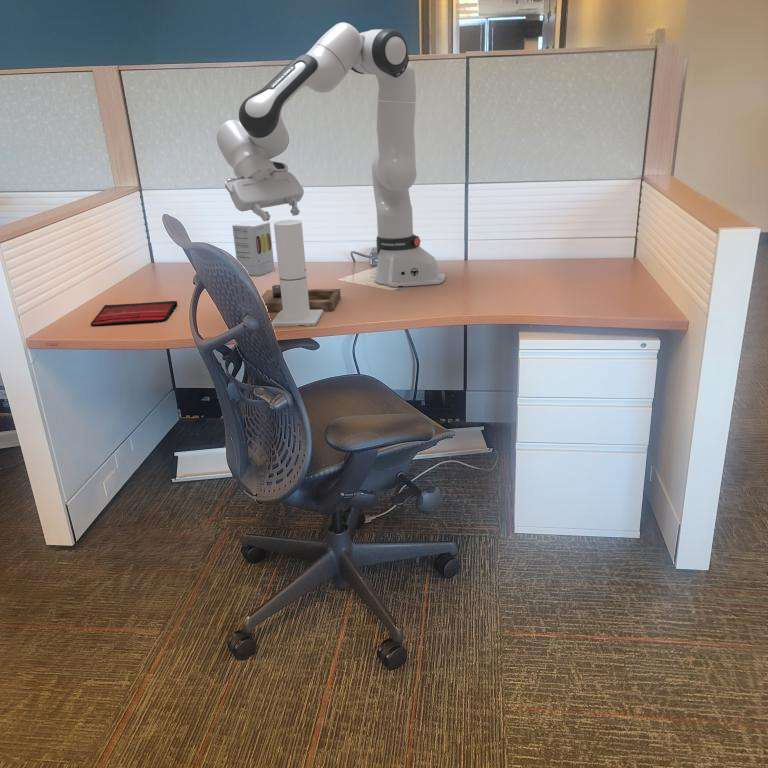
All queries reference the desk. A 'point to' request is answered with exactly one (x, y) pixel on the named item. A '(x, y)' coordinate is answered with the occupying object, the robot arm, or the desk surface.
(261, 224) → the supplement box
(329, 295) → the walnut board
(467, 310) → the desk surface
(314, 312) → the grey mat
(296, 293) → the cylindrical container
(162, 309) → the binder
